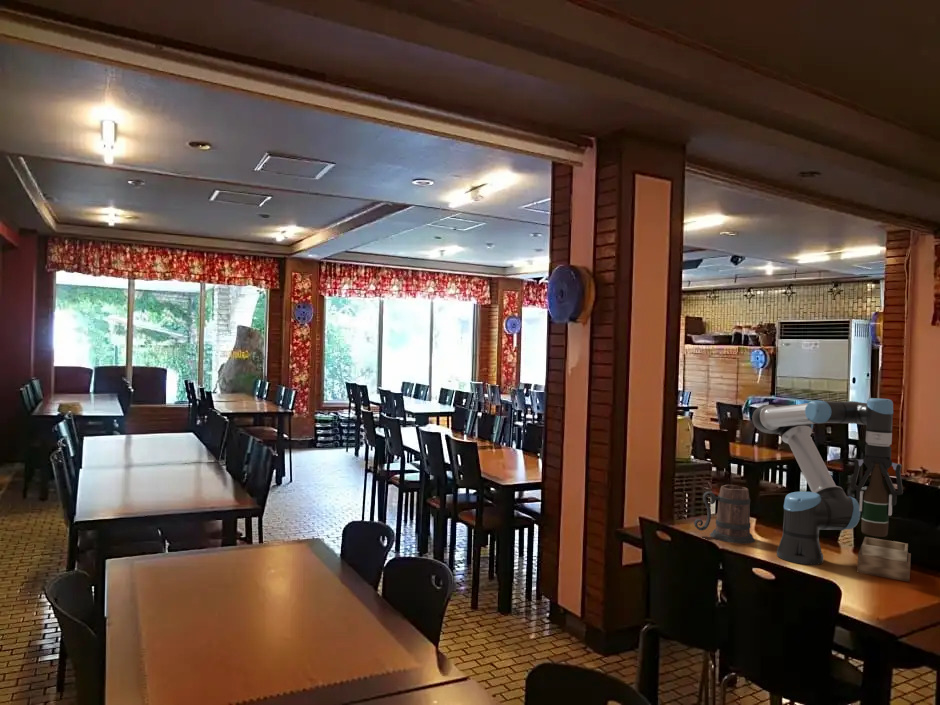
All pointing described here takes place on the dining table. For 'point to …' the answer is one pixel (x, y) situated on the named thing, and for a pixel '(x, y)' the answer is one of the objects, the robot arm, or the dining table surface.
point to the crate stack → (884, 559)
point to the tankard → (730, 515)
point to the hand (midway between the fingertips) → (875, 512)
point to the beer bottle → (875, 506)
